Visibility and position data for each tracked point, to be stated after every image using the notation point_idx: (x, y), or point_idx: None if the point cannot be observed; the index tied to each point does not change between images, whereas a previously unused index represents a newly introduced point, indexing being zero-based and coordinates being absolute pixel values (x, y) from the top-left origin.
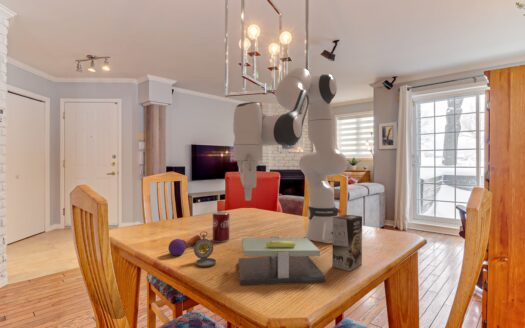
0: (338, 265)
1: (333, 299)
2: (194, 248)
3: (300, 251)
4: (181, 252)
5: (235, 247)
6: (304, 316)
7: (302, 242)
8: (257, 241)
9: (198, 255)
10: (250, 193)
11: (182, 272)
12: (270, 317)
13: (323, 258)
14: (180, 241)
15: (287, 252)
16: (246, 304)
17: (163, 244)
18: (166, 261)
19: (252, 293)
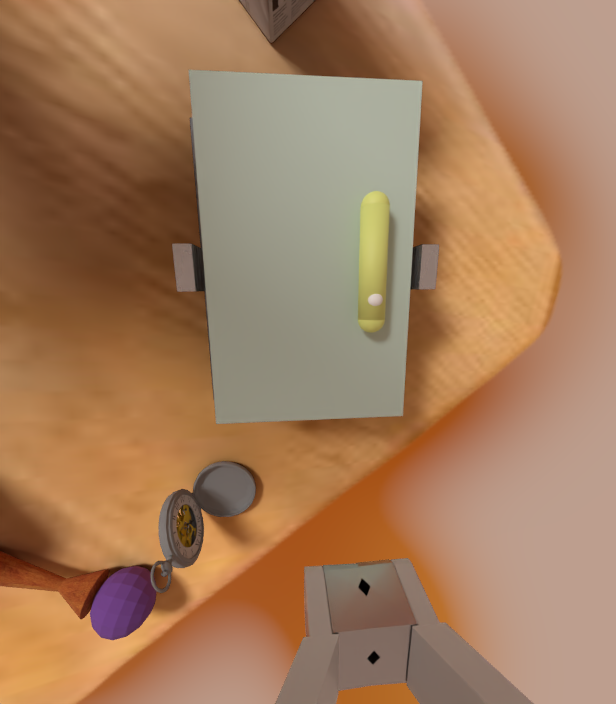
0: (291, 13)
1: (505, 155)
2: (198, 554)
3: (414, 184)
4: (146, 572)
5: (32, 408)
6: (557, 257)
7: (287, 132)
8: (274, 359)
9: (200, 523)
10: (466, 655)
11: (286, 529)
12: (541, 329)
13: (165, 42)
14: (121, 613)
15: (433, 249)
16: (481, 374)
17: (23, 640)
18: (200, 585)
19: (433, 359)
